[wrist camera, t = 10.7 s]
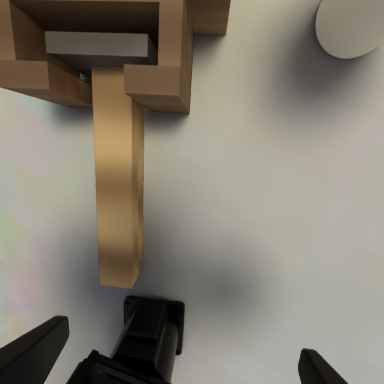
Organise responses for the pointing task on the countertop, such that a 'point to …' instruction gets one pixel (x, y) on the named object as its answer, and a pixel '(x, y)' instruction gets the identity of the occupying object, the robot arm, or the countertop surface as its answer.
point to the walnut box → (106, 23)
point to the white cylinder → (350, 27)
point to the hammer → (113, 143)
